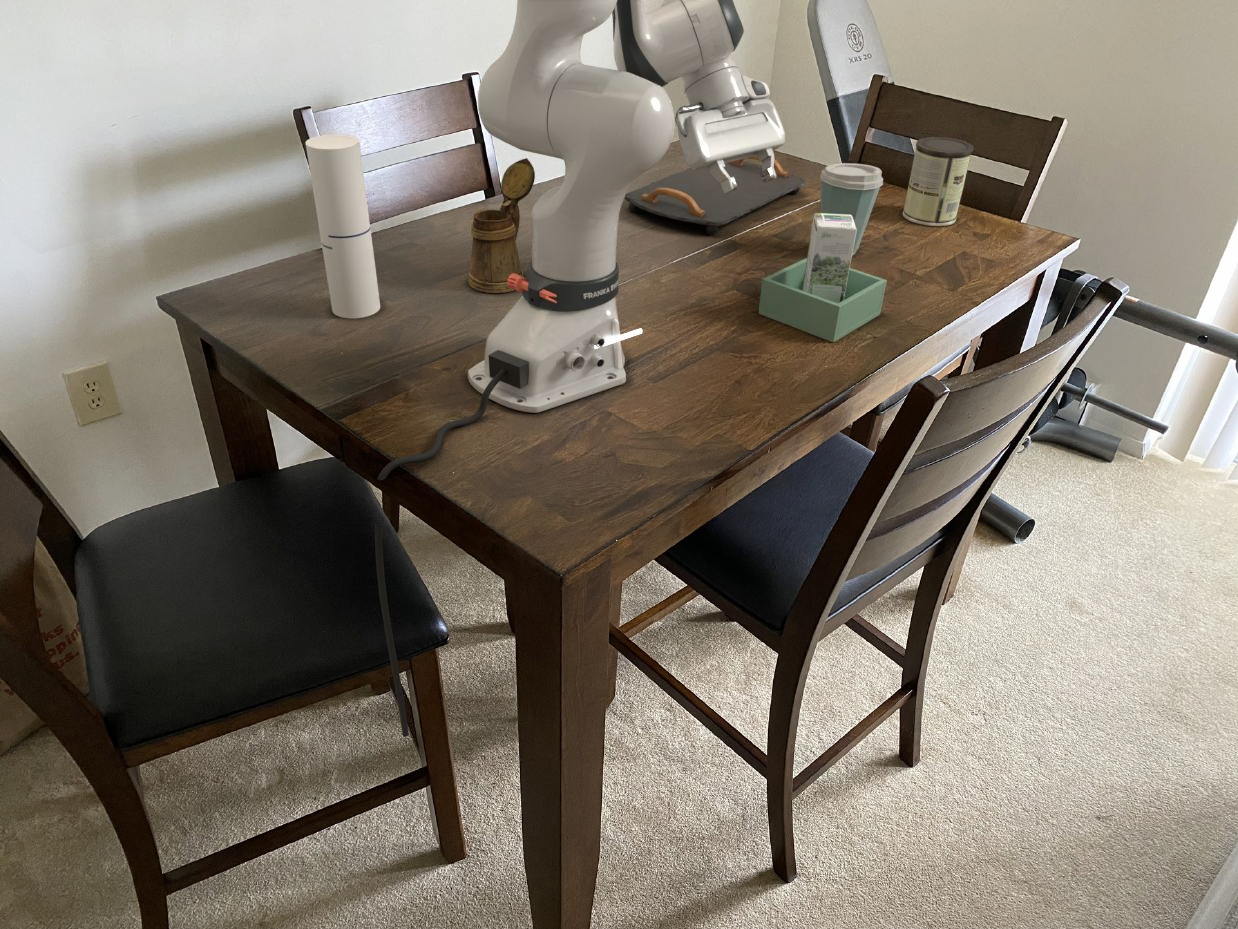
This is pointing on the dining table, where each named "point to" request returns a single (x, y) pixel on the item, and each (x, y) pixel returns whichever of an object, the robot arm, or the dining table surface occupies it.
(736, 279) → the dining table surface
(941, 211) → the coffee can
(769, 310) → the open storage box
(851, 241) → the syrup box
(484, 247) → the wooden mug
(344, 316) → the cylindrical container
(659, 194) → the serving tray
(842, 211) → the disposable coffee cup
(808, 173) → the dining table surface
